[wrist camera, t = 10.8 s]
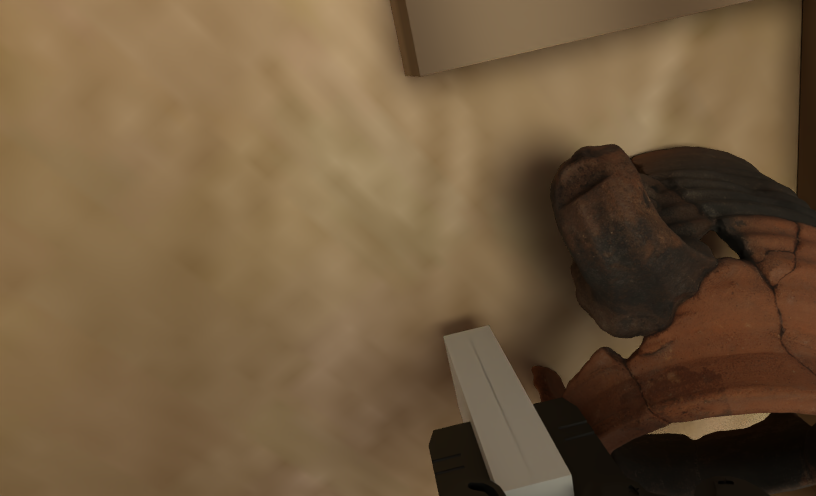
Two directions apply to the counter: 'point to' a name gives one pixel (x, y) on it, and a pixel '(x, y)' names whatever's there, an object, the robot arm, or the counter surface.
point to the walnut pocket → (566, 22)
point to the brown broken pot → (692, 314)
